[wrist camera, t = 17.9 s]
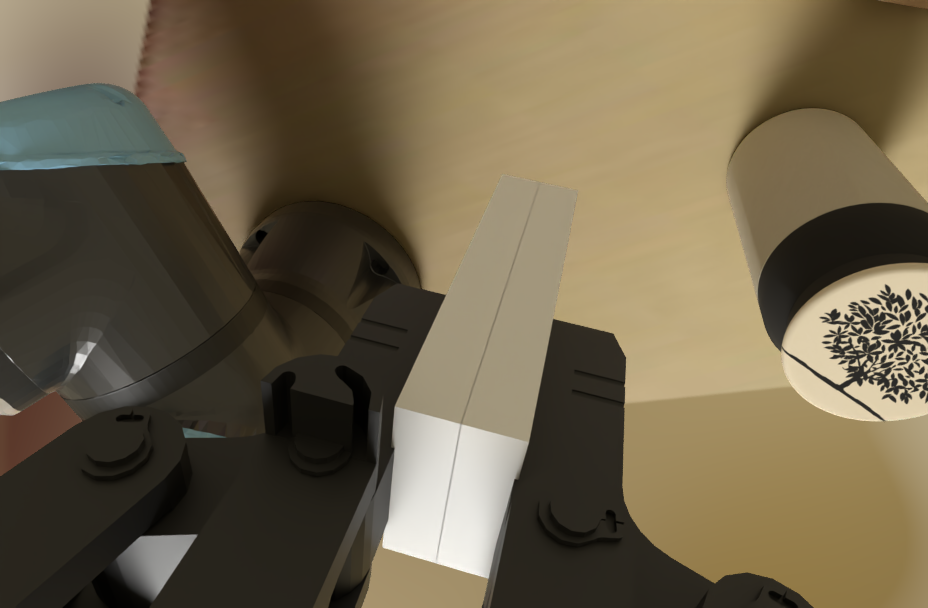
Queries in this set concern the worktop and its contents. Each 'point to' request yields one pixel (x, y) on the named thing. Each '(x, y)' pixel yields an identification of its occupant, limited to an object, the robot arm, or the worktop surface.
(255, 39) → the worktop surface
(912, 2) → the plank
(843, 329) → the travel mug
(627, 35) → the worktop surface
